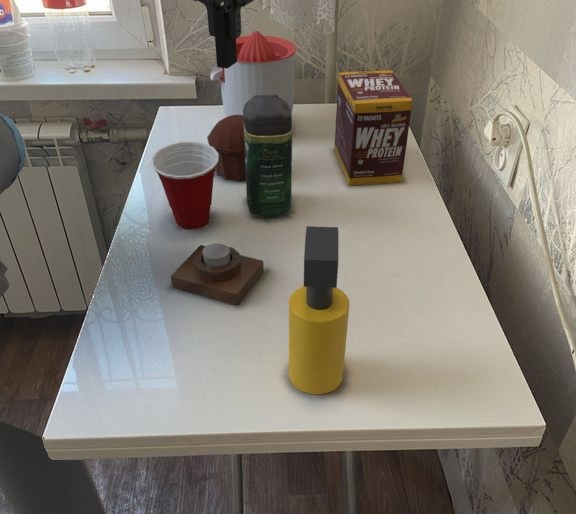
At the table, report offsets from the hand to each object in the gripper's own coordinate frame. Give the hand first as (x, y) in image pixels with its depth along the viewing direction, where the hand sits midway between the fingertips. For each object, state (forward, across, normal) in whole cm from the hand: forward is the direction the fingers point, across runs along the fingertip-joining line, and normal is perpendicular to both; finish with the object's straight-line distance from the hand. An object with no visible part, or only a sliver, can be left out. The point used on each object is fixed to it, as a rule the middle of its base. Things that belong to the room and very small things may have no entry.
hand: (227, 64), depth 79 cm
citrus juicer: (+30, +18, -43) cm, 55 cm away
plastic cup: (+30, +12, -6) cm, 33 cm away
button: (+26, 0, +7) cm, 27 cm away
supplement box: (+30, -9, -38) cm, 49 cm away
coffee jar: (+30, +2, -16) cm, 34 cm away
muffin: (+30, +13, -26) cm, 41 cm away
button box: (+29, 0, +7) cm, 30 cm away
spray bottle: (+29, -21, +20) cm, 41 cm away
